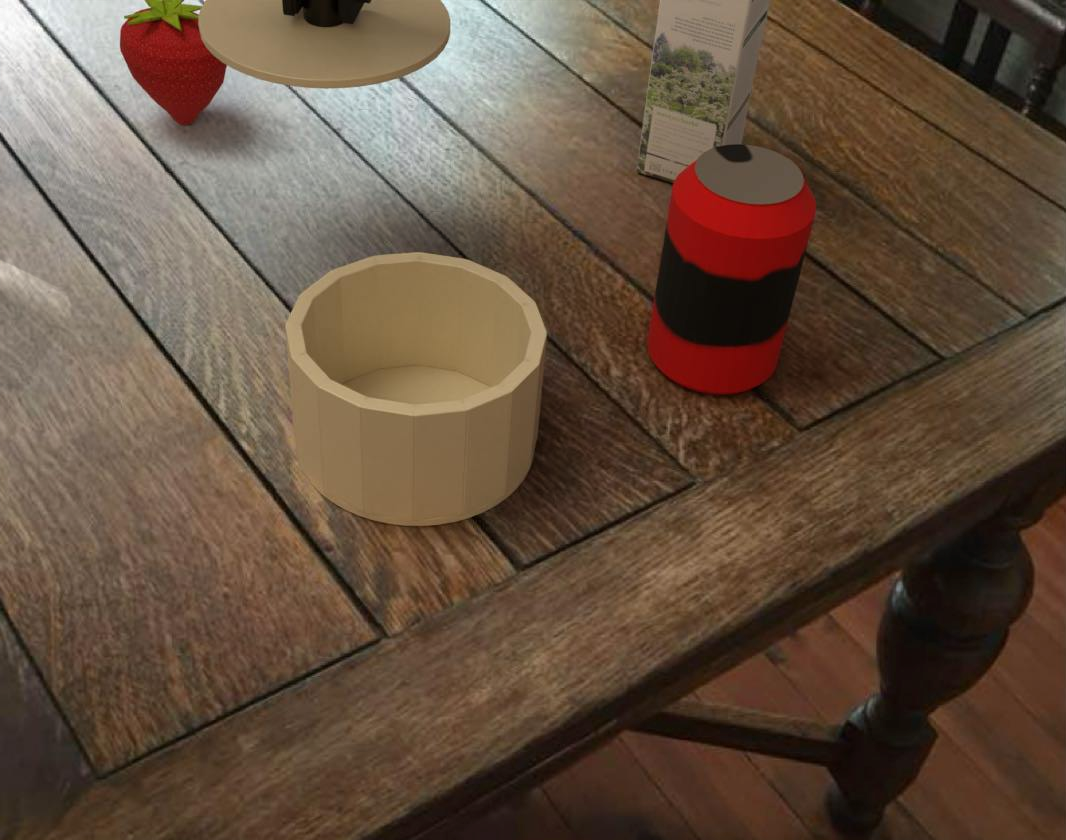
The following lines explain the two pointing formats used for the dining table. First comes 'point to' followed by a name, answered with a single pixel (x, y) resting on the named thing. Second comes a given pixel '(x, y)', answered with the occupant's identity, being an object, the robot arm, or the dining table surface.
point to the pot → (415, 387)
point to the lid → (325, 40)
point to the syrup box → (699, 80)
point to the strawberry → (171, 58)
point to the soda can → (729, 268)
